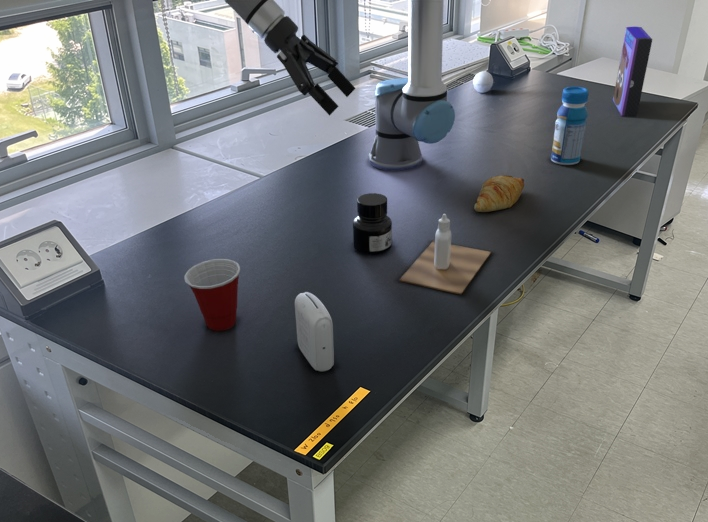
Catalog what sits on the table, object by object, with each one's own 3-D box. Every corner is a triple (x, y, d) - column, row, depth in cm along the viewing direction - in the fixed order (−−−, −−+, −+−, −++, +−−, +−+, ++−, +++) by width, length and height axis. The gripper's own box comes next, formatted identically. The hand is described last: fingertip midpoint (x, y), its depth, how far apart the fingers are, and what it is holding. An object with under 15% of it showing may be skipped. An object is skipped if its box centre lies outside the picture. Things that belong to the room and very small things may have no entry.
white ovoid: (468, 93, 265) (470, 72, 261) (477, 88, 270) (478, 68, 265) (494, 97, 260) (495, 76, 256) (502, 92, 265) (504, 71, 261)
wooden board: (433, 242, 170) (433, 240, 170) (490, 253, 165) (491, 251, 165) (399, 281, 156) (399, 279, 156) (461, 294, 151) (461, 293, 150)
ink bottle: (378, 260, 164) (378, 211, 157) (345, 251, 168) (344, 203, 161) (399, 242, 171) (399, 195, 164) (366, 234, 175) (366, 187, 168)
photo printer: (337, 368, 131) (335, 310, 124) (315, 374, 130) (312, 316, 123) (315, 339, 139) (312, 283, 132) (295, 345, 138) (290, 289, 130)
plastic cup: (195, 311, 149) (185, 259, 142) (247, 307, 150) (241, 255, 143) (190, 340, 140) (180, 287, 133) (246, 336, 141) (239, 282, 134)
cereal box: (612, 100, 252) (626, 26, 238) (627, 100, 252) (641, 26, 238) (621, 116, 238) (636, 38, 224) (636, 116, 238) (652, 38, 224)
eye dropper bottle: (456, 261, 161) (460, 211, 154) (444, 272, 158) (447, 221, 151) (439, 256, 164) (442, 207, 156) (426, 267, 160) (428, 216, 153)
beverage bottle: (573, 168, 204) (585, 95, 192) (545, 162, 208) (554, 91, 197) (584, 158, 209) (597, 87, 198) (557, 153, 214) (567, 83, 202)
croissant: (484, 230, 182) (500, 208, 175) (456, 204, 184) (470, 181, 177) (527, 201, 194) (543, 179, 188) (500, 177, 196) (514, 154, 190)
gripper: (283, 27, 168) (347, 96, 173) (242, 54, 149) (314, 131, 154) (303, 3, 164) (368, 74, 169) (263, 27, 145) (337, 107, 150)
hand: (343, 101), depth 162 cm, fingers open, 13 cm apart
